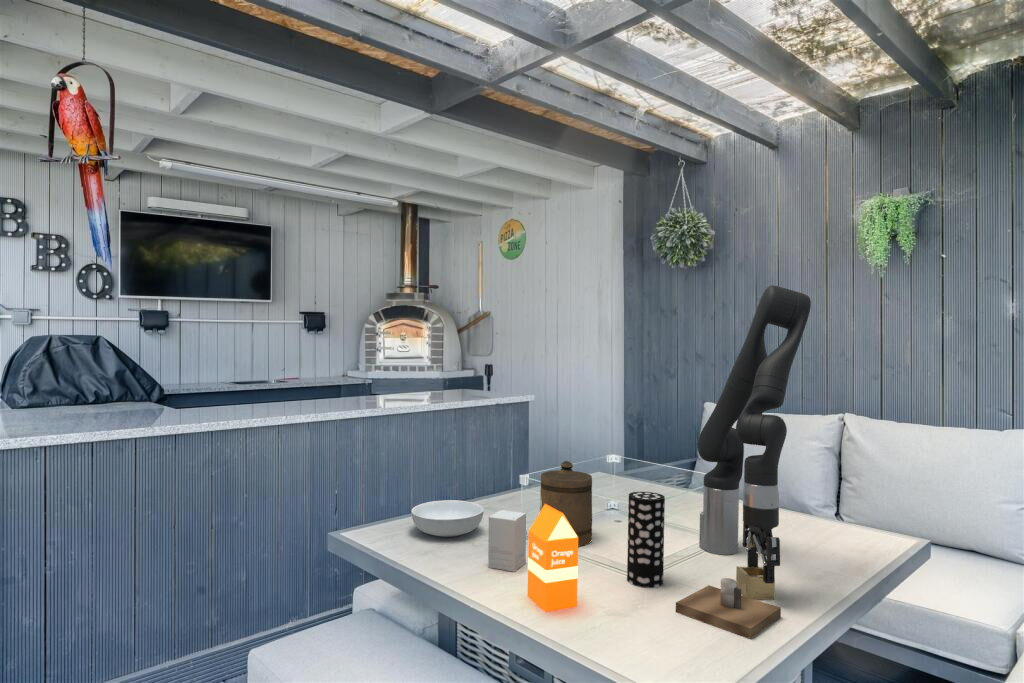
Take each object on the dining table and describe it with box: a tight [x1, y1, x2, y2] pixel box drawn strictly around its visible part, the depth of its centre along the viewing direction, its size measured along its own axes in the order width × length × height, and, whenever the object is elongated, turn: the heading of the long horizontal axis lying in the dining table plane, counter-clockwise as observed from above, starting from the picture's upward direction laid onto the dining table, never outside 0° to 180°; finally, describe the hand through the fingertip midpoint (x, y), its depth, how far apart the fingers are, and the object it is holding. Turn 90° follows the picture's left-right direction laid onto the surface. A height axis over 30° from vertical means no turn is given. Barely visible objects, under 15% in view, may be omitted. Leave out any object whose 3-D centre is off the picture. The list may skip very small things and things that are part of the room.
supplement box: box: [487, 509, 527, 572], centre depth 156 cm, size 7×7×13 cm
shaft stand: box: [675, 577, 782, 640], centre depth 130 cm, size 16×14×7 cm
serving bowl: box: [410, 499, 485, 538], centre depth 182 cm, size 21×21×7 cm
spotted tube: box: [626, 491, 666, 589], centre depth 147 cm, size 8×8×20 cm
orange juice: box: [527, 504, 579, 613], centre depth 135 cm, size 8×9×20 cm
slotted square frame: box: [735, 565, 776, 601], centre depth 141 cm, size 6×6×5 cm
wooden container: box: [539, 460, 593, 548], centre depth 178 cm, size 15×15×22 cm
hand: (760, 575), depth 140 cm, fingers open, 8 cm apart
